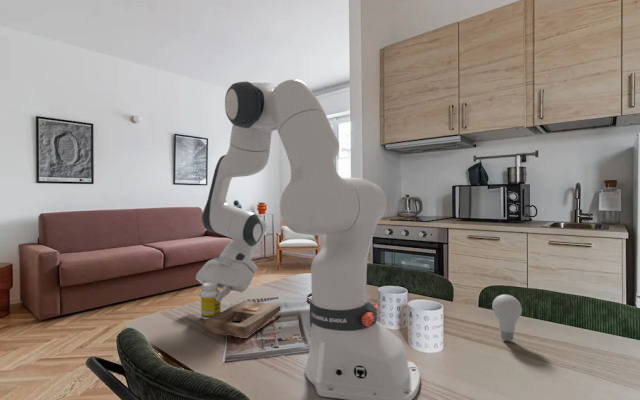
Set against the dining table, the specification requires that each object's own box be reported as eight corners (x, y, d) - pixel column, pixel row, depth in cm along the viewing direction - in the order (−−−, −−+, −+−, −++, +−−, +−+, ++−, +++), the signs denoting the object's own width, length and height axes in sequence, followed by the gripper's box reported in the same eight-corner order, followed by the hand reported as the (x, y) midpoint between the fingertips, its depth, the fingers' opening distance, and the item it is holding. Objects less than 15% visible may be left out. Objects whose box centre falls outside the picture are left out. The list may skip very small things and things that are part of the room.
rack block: (280, 315, 98) (280, 304, 98) (245, 339, 83) (245, 326, 83) (244, 310, 104) (244, 299, 104) (204, 331, 88) (204, 319, 88)
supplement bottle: (217, 320, 96) (216, 286, 96) (198, 320, 96) (197, 286, 96) (223, 313, 102) (222, 281, 101) (205, 313, 102) (204, 281, 101)
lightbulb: (525, 340, 79) (524, 294, 79) (518, 349, 75) (518, 300, 75) (496, 333, 83) (496, 289, 83) (489, 341, 79) (488, 295, 79)
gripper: (206, 251, 110) (180, 288, 102) (251, 257, 99) (225, 299, 91) (218, 262, 114) (193, 299, 106) (262, 269, 102) (238, 310, 95)
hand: (208, 299), depth 98 cm, fingers closed on supplement bottle, 5 cm apart
